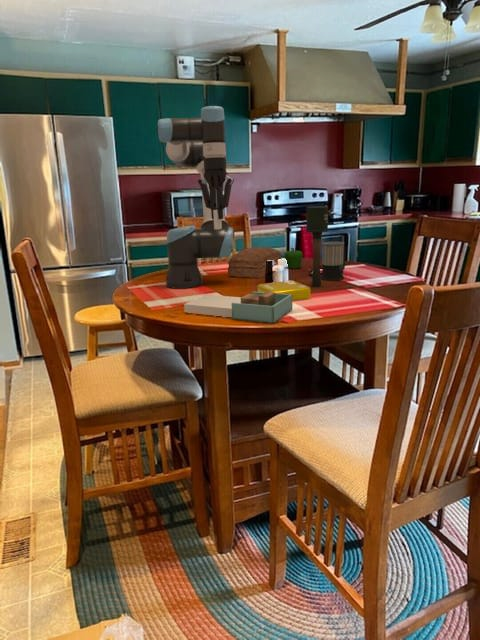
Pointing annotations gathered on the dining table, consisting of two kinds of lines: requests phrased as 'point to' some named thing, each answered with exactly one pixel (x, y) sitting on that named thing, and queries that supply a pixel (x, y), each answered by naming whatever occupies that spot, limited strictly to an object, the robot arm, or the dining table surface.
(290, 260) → the bell pepper
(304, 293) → the element tile
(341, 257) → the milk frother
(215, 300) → the board
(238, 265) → the bread
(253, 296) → the rear tile
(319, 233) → the stick grenade
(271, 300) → the front tile
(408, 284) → the dining table surface
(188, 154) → the robot arm
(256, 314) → the tray
